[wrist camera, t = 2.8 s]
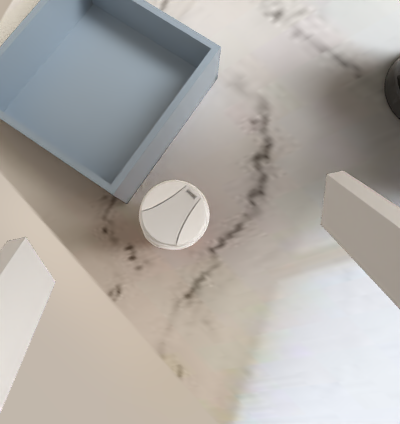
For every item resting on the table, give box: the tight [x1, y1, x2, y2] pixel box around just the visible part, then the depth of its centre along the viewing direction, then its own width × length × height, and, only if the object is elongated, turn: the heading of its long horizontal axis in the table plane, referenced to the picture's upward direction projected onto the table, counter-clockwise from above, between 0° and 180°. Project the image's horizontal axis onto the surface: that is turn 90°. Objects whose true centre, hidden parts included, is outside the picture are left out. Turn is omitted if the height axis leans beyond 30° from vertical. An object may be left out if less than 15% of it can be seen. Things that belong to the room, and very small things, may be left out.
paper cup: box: [139, 180, 210, 250], centre depth 34 cm, size 8×8×14 cm
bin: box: [0, 0, 221, 204], centre depth 41 cm, size 26×26×7 cm
